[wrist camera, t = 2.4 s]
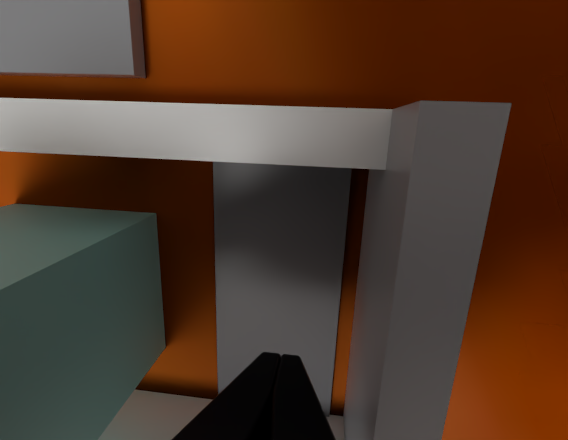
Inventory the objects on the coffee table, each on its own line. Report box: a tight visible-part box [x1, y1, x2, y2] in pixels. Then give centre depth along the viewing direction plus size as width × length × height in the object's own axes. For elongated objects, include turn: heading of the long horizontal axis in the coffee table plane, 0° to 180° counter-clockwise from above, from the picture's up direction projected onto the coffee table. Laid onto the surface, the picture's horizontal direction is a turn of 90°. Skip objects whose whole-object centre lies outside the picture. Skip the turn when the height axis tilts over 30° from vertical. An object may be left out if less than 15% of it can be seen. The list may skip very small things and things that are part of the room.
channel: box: [0, 98, 512, 440], centre depth 9 cm, size 15×11×4 cm
